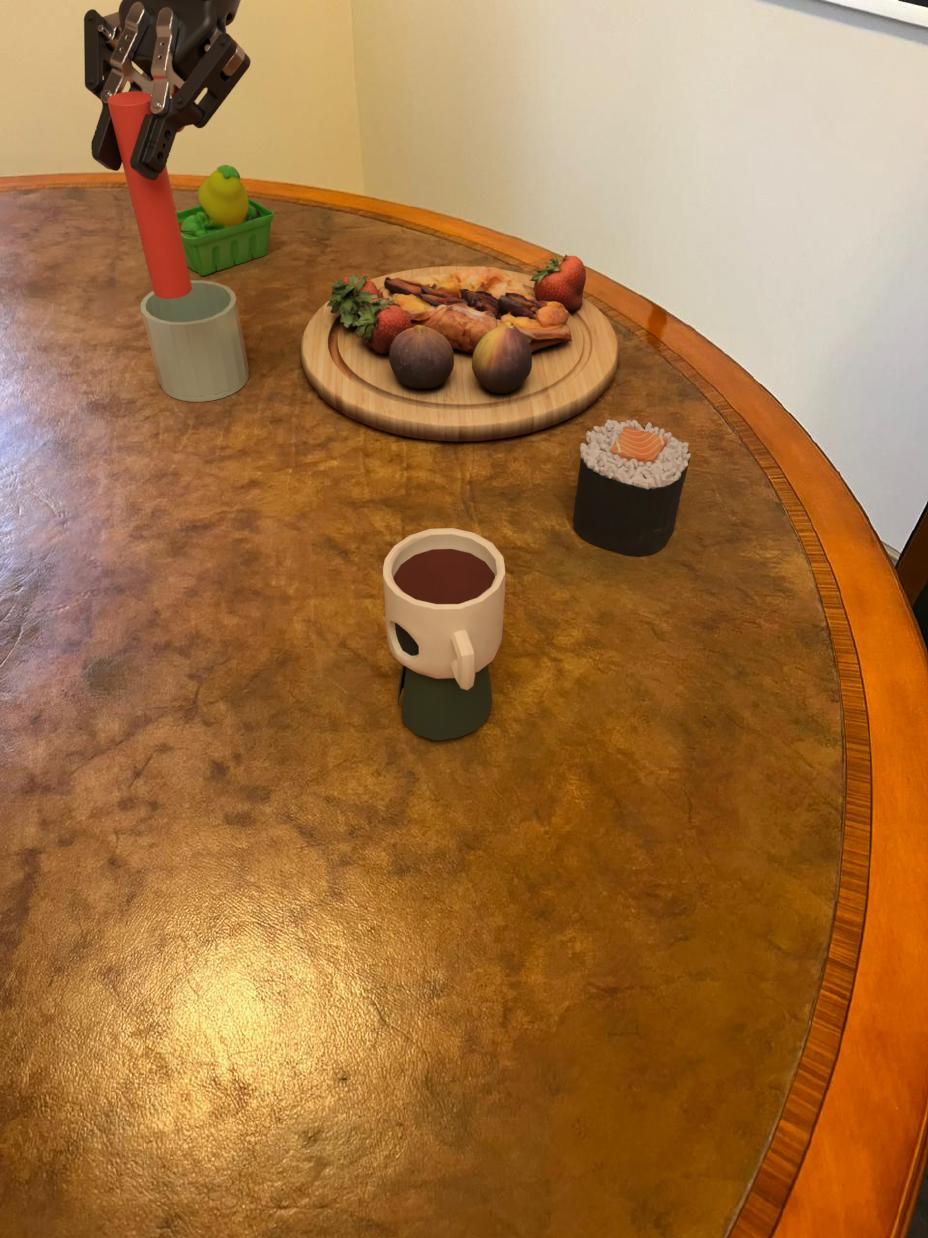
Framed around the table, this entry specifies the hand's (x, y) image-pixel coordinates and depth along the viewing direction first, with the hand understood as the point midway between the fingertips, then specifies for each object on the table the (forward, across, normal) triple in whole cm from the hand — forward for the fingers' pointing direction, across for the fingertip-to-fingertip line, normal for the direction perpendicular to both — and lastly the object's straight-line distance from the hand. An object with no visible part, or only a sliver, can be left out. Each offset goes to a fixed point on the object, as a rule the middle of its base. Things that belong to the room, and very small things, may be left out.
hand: (123, 168), depth 66 cm
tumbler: (+10, -7, +24) cm, 27 cm away
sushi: (+11, +38, +24) cm, 46 cm away
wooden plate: (-1, +13, +35) cm, 38 cm away
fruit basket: (-5, -21, +39) cm, 45 cm away
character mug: (+28, +34, +6) cm, 45 cm away
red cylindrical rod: (+6, 0, +8) cm, 10 cm away
